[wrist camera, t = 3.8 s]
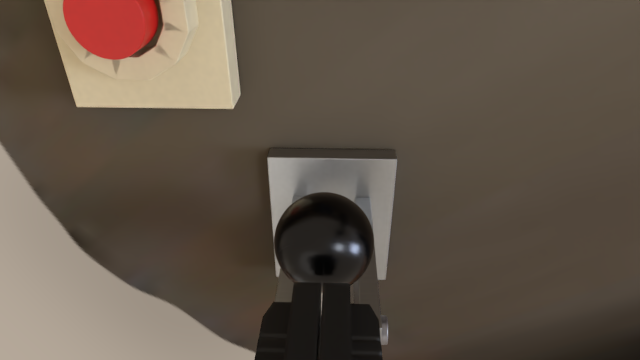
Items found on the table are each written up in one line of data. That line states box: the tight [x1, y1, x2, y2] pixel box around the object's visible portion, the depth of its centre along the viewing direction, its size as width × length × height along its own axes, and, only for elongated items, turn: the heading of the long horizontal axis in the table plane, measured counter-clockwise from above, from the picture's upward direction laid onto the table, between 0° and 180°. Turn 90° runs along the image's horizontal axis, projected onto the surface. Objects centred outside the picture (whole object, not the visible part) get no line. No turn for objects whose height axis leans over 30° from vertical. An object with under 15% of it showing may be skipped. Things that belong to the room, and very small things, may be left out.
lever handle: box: [274, 192, 374, 314], centre depth 19 cm, size 13×3×3 cm, turn 1°
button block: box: [44, 0, 241, 109], centre depth 23 cm, size 11×9×4 cm
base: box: [267, 148, 397, 345], centre depth 26 cm, size 10×8×12 cm
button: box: [63, 0, 158, 60], centre depth 21 cm, size 4×4×2 cm
